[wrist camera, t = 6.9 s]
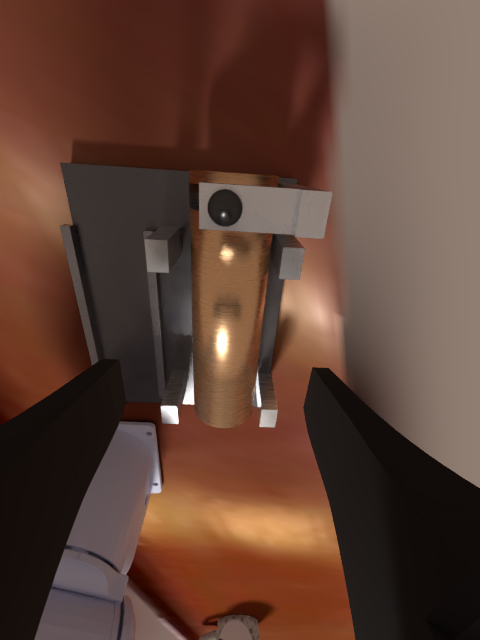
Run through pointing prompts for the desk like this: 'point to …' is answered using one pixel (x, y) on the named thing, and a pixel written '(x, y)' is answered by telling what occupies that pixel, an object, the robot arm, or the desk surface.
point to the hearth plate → (140, 275)
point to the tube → (226, 307)
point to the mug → (234, 629)
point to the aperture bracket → (264, 209)
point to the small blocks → (161, 258)
